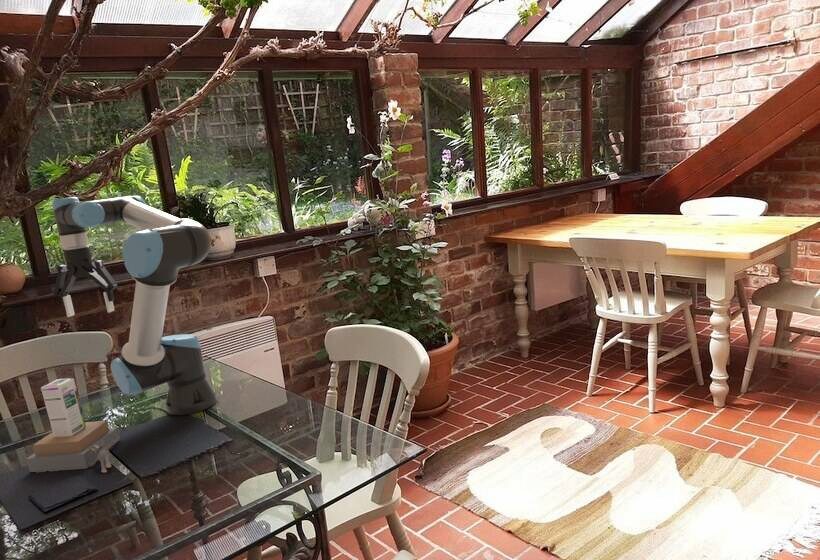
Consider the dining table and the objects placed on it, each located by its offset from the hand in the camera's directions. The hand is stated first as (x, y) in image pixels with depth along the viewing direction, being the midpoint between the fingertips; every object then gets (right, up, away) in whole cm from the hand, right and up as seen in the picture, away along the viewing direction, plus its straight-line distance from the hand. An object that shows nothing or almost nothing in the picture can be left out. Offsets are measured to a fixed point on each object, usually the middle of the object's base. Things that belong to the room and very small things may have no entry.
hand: (91, 313), depth 198 cm
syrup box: (+9, -31, -29) cm, 43 cm away
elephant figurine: (+23, -38, -36) cm, 57 cm away
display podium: (+10, -37, -27) cm, 47 cm away
